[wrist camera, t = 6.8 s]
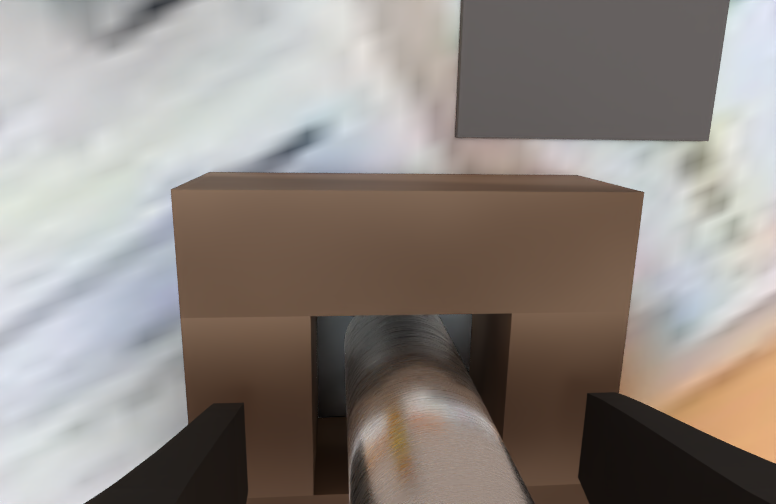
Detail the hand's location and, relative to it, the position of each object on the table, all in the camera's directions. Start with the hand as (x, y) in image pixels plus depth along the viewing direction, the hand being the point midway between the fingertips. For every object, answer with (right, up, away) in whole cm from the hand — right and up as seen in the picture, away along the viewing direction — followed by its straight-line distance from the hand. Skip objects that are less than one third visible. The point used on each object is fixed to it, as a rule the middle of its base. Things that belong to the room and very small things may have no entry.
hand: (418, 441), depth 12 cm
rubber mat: (+5, +11, +3) cm, 12 cm away
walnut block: (0, +1, +5) cm, 5 cm away
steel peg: (0, +1, +5) cm, 5 cm away
